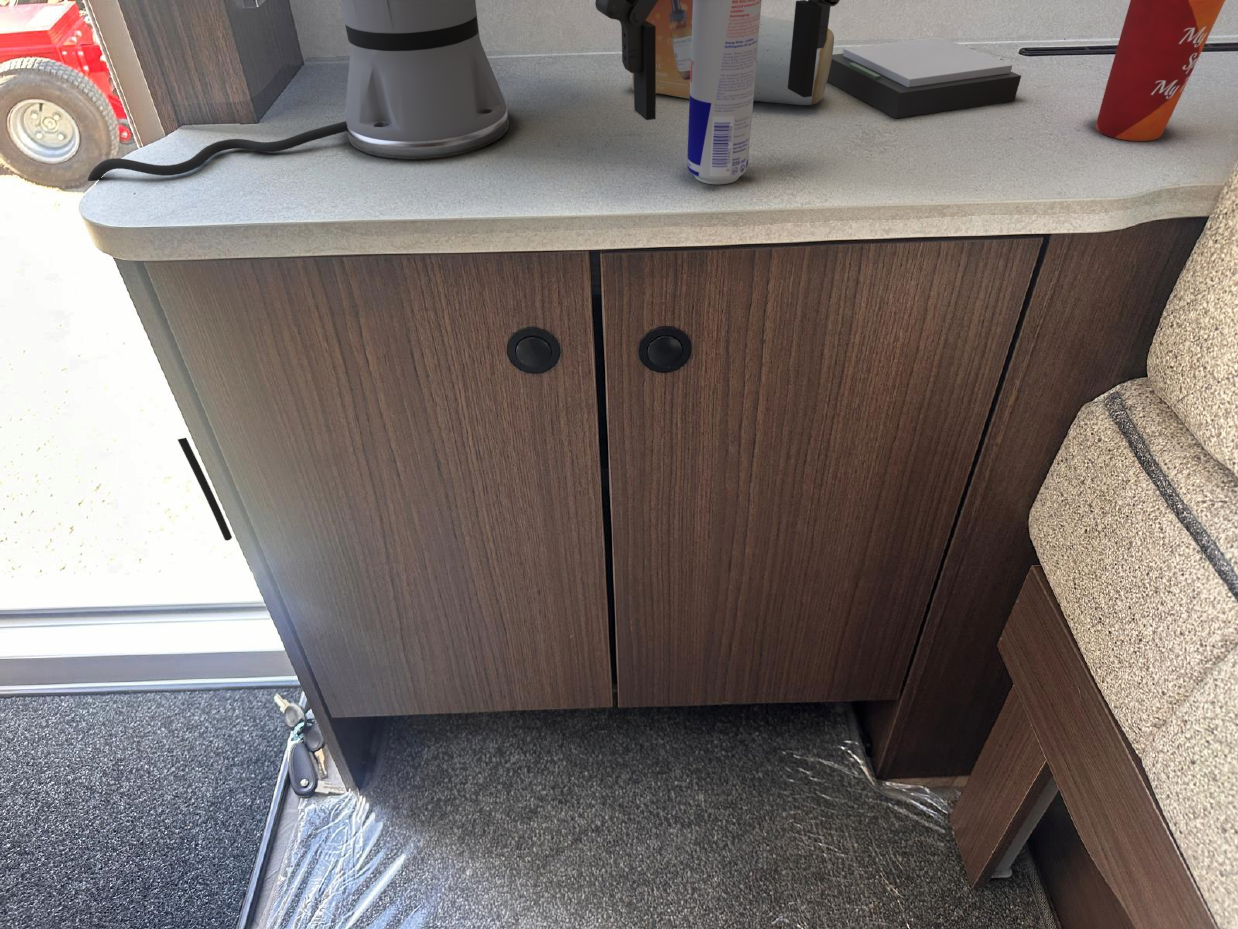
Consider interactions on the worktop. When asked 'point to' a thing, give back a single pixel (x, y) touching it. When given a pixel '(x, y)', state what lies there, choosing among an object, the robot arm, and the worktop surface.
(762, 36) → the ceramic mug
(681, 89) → the small box
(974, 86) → the scale
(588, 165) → the worktop surface
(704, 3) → the beverage can
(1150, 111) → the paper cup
